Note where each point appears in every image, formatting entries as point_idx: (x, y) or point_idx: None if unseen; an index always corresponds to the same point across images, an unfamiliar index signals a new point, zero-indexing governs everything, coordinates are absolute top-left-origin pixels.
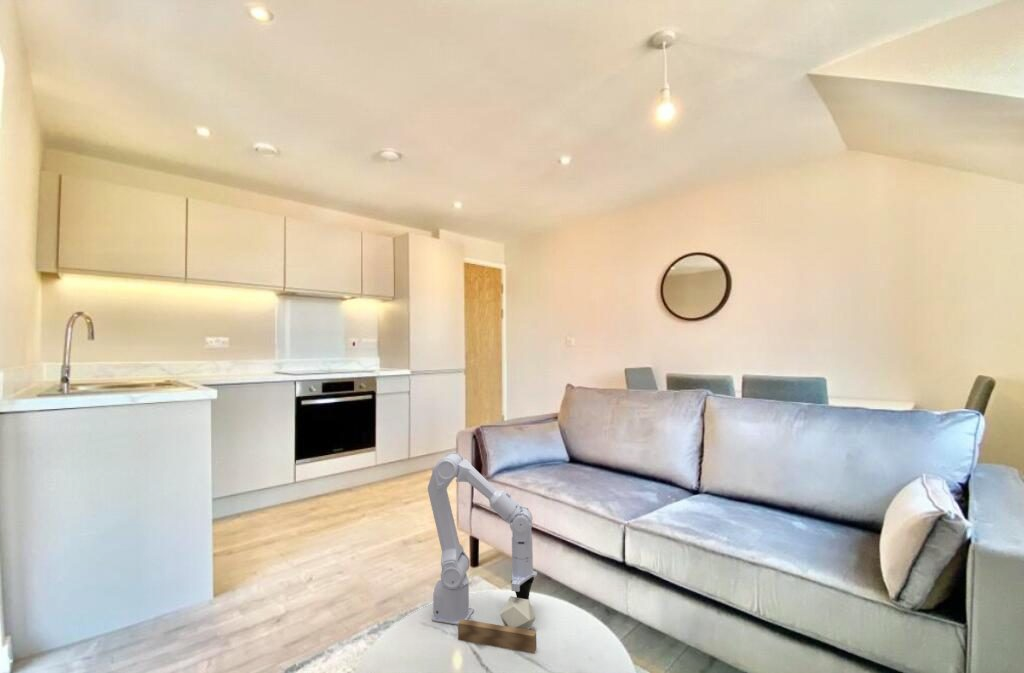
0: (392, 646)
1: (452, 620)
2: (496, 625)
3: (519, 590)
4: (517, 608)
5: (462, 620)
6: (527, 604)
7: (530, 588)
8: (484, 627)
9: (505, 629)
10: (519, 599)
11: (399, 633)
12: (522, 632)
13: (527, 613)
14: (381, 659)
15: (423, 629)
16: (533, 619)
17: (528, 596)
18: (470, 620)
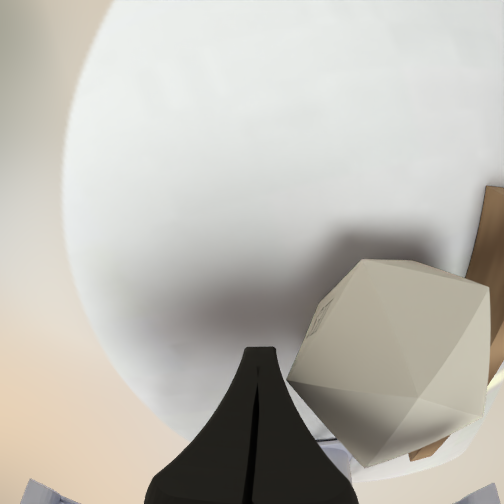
0: (425, 463)
1: (348, 458)
2: None
3: (481, 490)
4: (482, 394)
5: (420, 457)
6: (447, 373)
7: (206, 430)
8: None
9: (500, 353)
10: (409, 433)
11: (387, 475)
12: None
13: (477, 326)
14: (456, 453)
15: (374, 466)
16: (402, 266)
17: (250, 393)
18: (422, 448)
